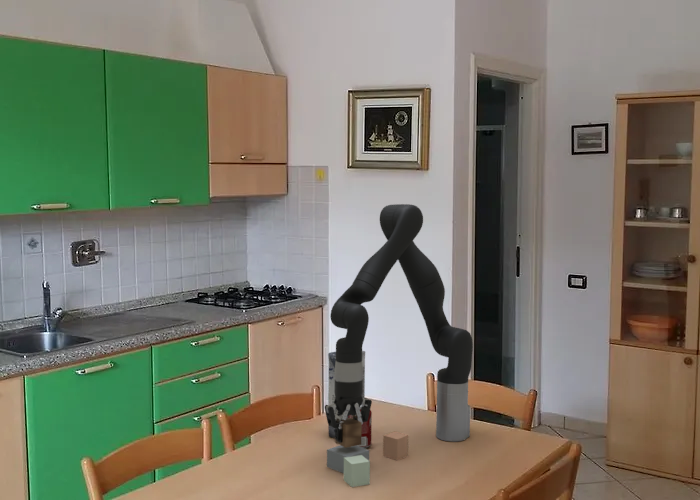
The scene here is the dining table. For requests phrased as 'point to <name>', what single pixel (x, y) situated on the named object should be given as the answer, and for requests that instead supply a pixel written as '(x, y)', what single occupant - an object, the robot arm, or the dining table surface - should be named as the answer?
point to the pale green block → (356, 471)
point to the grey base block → (343, 456)
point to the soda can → (365, 431)
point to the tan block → (395, 445)
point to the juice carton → (332, 384)
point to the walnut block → (351, 433)
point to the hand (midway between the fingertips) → (348, 439)
